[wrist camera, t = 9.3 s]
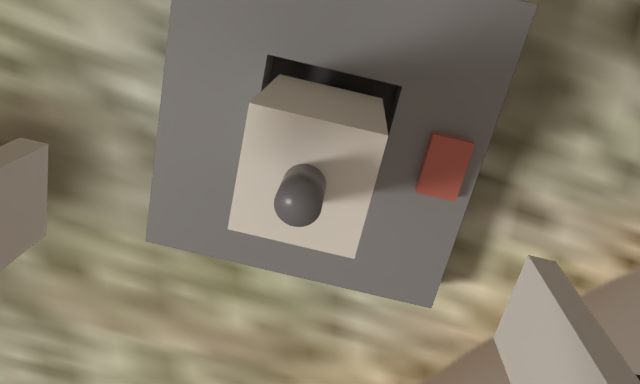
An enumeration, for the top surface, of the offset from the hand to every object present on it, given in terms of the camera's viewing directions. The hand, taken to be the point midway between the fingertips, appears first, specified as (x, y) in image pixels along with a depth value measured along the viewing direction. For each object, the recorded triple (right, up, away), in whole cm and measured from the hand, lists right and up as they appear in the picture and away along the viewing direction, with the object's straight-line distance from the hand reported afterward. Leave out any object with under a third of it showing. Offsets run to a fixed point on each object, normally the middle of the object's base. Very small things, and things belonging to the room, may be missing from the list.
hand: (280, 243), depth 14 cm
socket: (+1, +5, +14) cm, 15 cm away
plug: (+1, +5, +14) cm, 15 cm away
